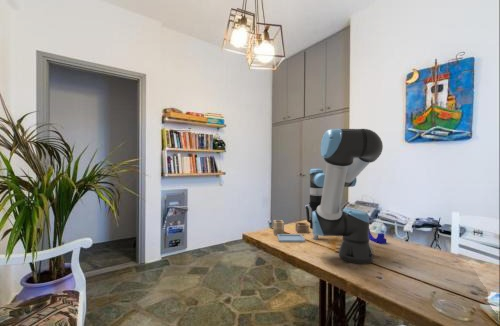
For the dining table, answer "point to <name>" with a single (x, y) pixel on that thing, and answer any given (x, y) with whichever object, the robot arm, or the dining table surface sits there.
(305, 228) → the brown hollow block
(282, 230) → the block
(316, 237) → the silver metal rod
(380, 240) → the cable clip
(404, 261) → the dining table surface
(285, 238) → the tray
